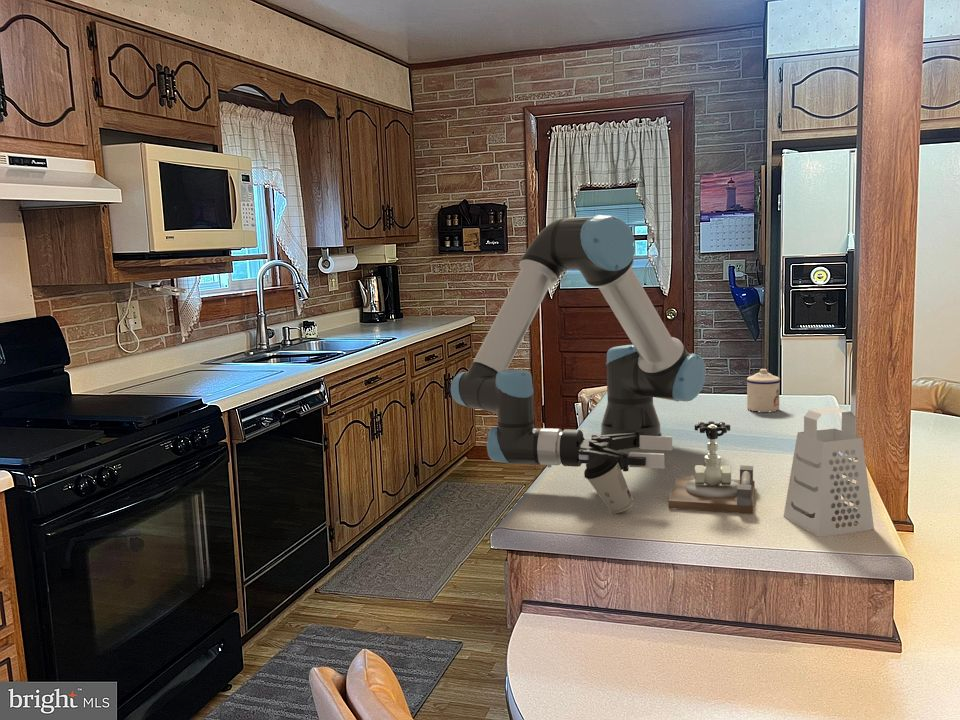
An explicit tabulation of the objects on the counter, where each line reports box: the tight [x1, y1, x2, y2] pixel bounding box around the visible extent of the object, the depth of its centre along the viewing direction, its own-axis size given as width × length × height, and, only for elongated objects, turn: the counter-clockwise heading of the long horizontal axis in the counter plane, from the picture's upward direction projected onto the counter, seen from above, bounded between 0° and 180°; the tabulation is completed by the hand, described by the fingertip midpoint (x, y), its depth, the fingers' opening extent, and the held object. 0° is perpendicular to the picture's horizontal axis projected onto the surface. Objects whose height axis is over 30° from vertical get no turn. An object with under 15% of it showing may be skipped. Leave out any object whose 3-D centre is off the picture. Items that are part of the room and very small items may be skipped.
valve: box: [693, 420, 732, 486], centre depth 159 cm, size 7×7×12 cm
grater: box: [783, 406, 875, 537], centre depth 143 cm, size 10×10×20 cm
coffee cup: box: [583, 454, 634, 514], centre depth 153 cm, size 7×7×10 cm
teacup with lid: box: [746, 368, 781, 413], centre depth 236 cm, size 12×9×12 cm
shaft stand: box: [667, 465, 756, 515], centre depth 160 cm, size 16×15×4 cm
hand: (668, 451), depth 162 cm, fingers open, 13 cm apart
